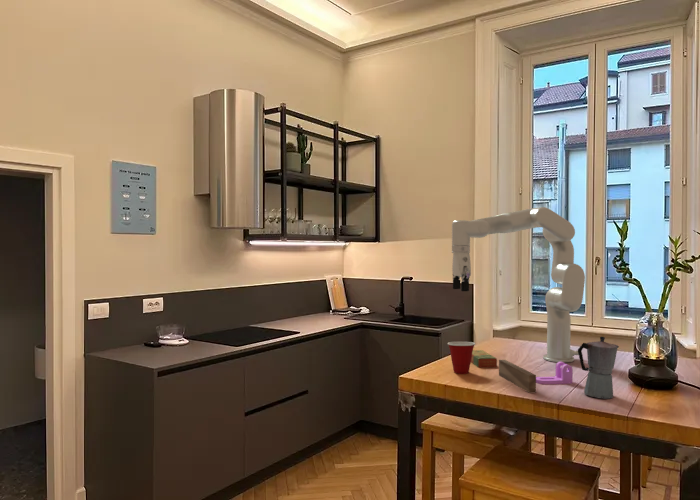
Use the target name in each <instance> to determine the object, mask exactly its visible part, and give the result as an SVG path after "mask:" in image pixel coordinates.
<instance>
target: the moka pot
mask: <svg viewBox="0 0 700 500" xmlns="http://www.w3.org/2000/svg"><path fill="white" fill-rule="evenodd" d="M599 338H600V340H599V341H589V342H583V343H581V345H580V346H579V348H578V349H577V351H578V354H579V355H578V356H579V357H578V358H579V362H580V366H581V369H582V371H585V372H588V373H587V377H586V381H585V386H584V389H583V390H584V391H583V392H584V394H585V395H586V396H589V397H592V398H597V399H606V400H607V399H613V398H614V388H613V387H614V386H613V375H612V374H613V370H614V369H615V364H616V359H617V353H618V352H617V351H618V348H620V346H619V345H618V344H614V343H611V342H610V343H609V342H606V341H605V339H606V336H599ZM583 349H586V351H587V353H586V354H587V365H588V367H586V366H585V363H584V362H585V361H584V354H583V352H582V350H583Z"/></svg>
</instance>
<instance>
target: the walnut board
mask: <svg viewBox="0 0 700 500" xmlns="http://www.w3.org/2000/svg"><path fill="white" fill-rule="evenodd" d="M498 376H499V377H501V378H502V379H505V380H506V381H508V382H510V383H511V384H513V385H515V386H517V387H518V388H520V389H521V390H524V391H525V392H527V393H529V394H533V393H537V383H536V377H537V375H536V374H534V373H533V372H531V371H530V370H529V371H528V370H527V369H525V368H522V367H521V366H519V365H517V364H514V363H513V362H511V361H509V360H508V359H499V360H498Z"/></svg>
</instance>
